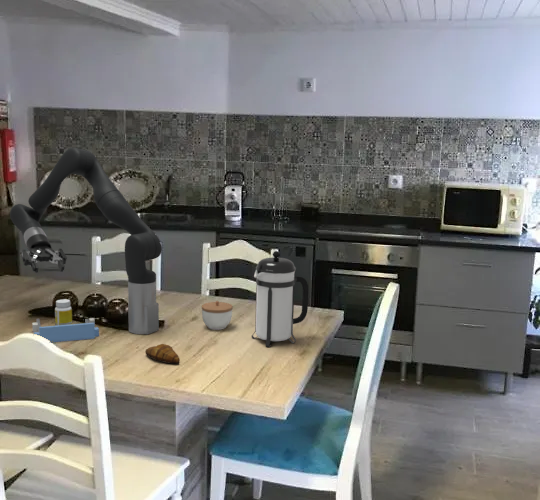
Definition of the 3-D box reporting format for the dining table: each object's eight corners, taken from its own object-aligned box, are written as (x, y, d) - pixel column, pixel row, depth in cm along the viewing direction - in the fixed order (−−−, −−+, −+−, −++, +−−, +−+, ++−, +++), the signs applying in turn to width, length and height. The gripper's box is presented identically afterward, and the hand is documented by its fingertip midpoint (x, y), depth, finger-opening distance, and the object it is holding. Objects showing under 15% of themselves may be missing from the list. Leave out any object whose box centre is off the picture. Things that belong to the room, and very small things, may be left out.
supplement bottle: (75, 327, 223) (75, 300, 221) (64, 331, 218) (63, 303, 216) (63, 325, 225) (62, 298, 223) (51, 329, 220) (51, 301, 218)
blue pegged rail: (31, 322, 227) (31, 308, 226) (90, 317, 234) (90, 304, 233) (34, 343, 205) (33, 328, 204) (99, 338, 212) (99, 323, 211)
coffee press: (290, 351, 205) (294, 257, 200) (244, 344, 210) (246, 252, 205) (307, 335, 221) (310, 248, 216) (263, 329, 226) (265, 244, 221)
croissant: (186, 362, 193) (187, 346, 192) (170, 368, 188) (170, 351, 187) (155, 352, 201) (155, 336, 200) (138, 357, 196) (138, 341, 195)
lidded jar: (238, 327, 228) (239, 301, 226) (215, 333, 220) (216, 307, 218) (217, 321, 235) (218, 295, 233) (195, 326, 227) (195, 300, 226)
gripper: (17, 233, 225) (30, 262, 215) (58, 233, 234) (72, 260, 223) (14, 250, 229) (26, 279, 219) (55, 249, 237) (68, 277, 227)
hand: (49, 270), depth 221 cm, fingers open, 8 cm apart
